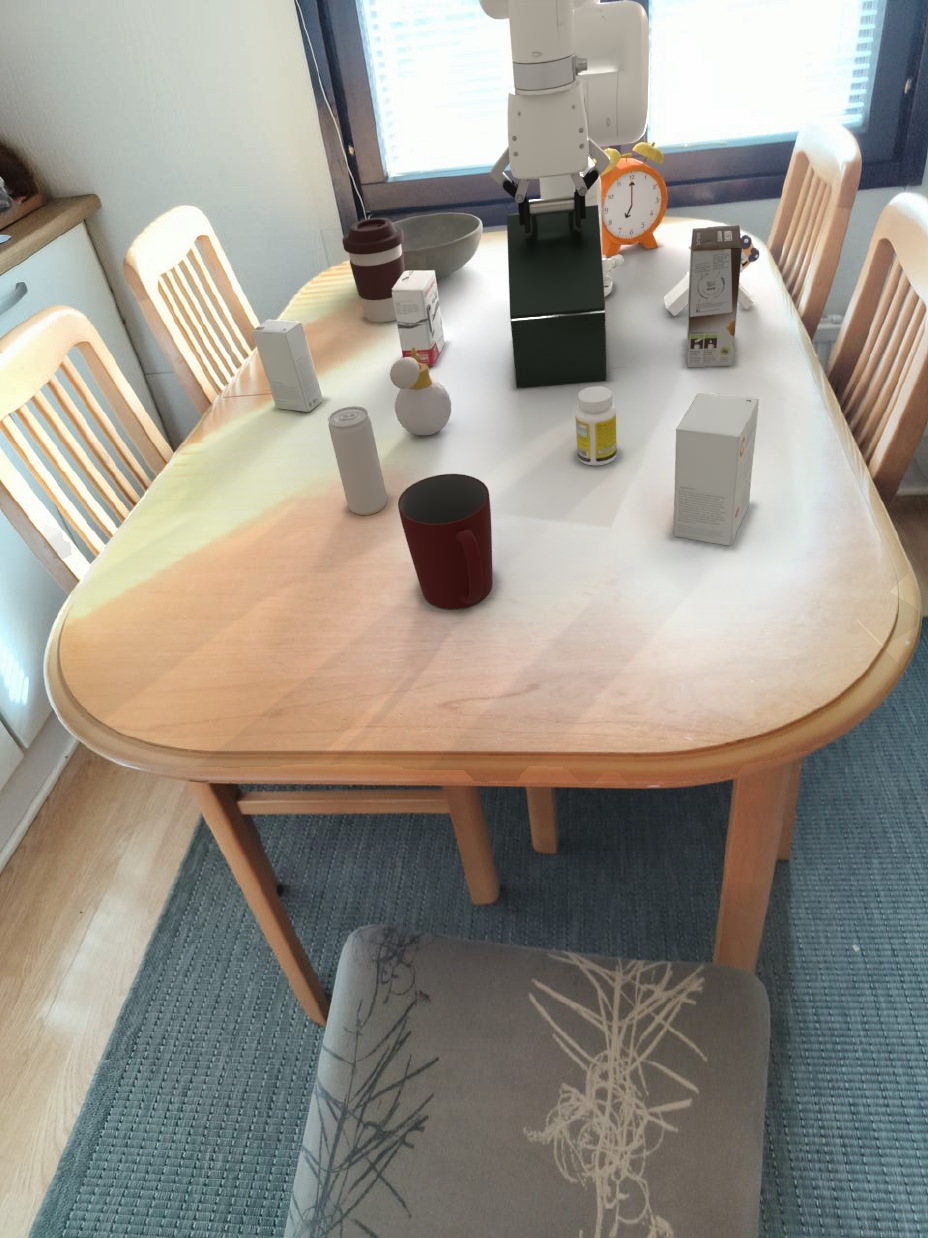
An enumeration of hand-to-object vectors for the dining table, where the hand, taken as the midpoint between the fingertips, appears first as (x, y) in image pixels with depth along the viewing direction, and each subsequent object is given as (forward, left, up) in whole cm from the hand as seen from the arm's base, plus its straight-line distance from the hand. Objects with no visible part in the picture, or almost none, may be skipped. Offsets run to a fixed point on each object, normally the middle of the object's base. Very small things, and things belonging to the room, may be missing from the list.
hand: (552, 226), depth 119 cm
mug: (+44, +35, -19) cm, 59 cm away
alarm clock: (-38, -25, -19) cm, 49 cm away
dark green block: (+1, +1, -4) cm, 5 cm away
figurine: (-26, +5, -19) cm, 33 cm away
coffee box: (-14, +16, -19) cm, 29 cm away
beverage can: (+42, +13, -19) cm, 48 cm away
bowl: (-8, -46, -19) cm, 50 cm away
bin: (+1, +1, -19) cm, 19 cm away
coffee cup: (+8, -36, -19) cm, 42 cm away
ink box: (+13, -17, -19) cm, 28 cm away
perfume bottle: (+27, +4, -19) cm, 33 cm away
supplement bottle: (+16, +25, -19) cm, 35 cm away
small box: (+17, +44, -19) cm, 51 cm away
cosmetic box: (+35, -18, -19) cm, 43 cm away
